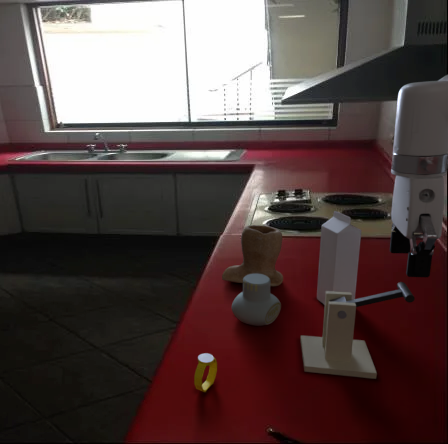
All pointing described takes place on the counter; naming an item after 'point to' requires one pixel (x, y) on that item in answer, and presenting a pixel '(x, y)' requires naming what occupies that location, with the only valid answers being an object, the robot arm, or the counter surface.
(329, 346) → the cream lever stand
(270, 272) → the tan boot
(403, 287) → the lever
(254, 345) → the counter surface
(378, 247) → the counter surface
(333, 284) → the milk
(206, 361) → the watch
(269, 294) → the air freshener
